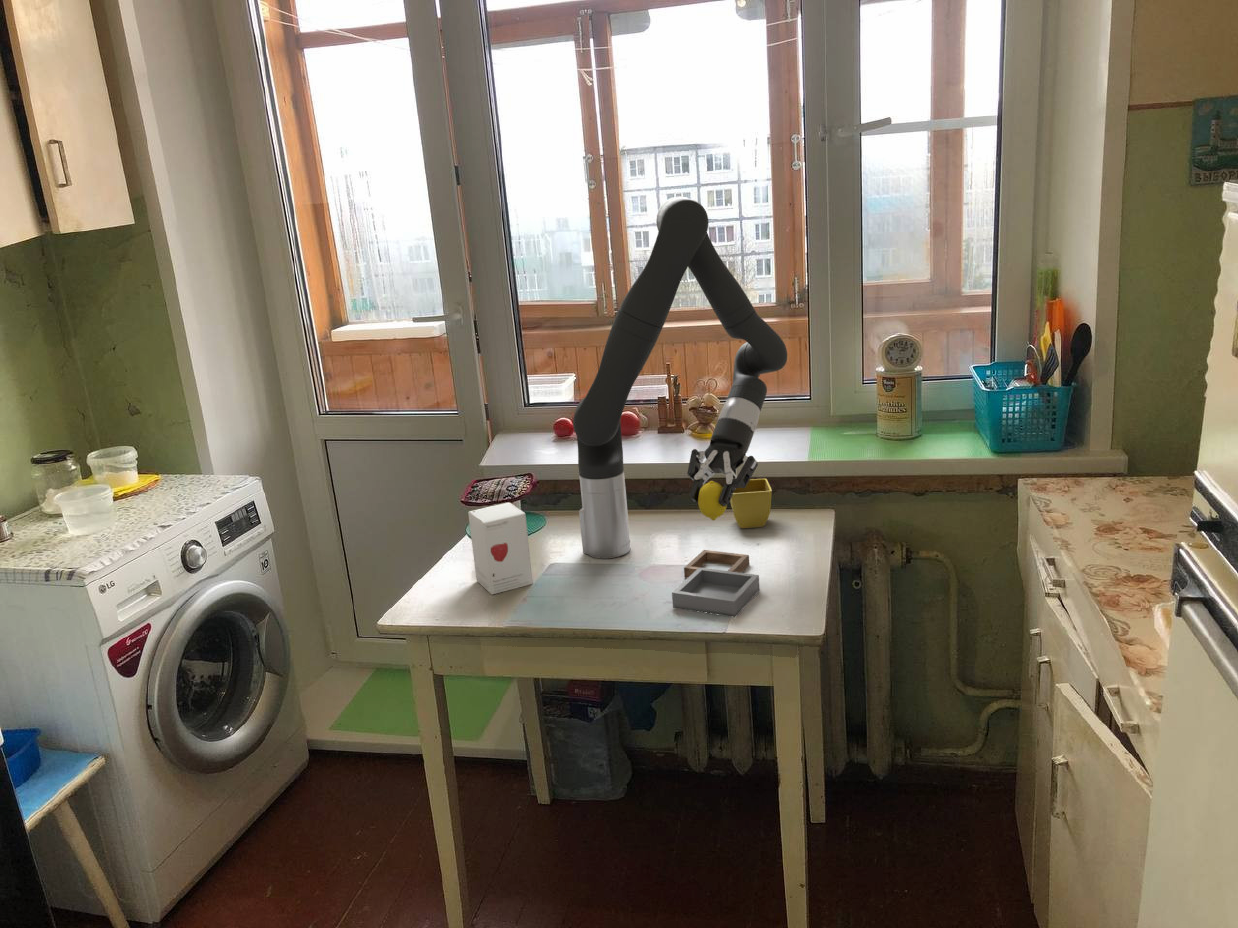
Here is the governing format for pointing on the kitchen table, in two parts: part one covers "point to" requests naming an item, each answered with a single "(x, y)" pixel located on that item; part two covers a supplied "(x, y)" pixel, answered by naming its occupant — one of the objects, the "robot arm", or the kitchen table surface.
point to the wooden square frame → (717, 561)
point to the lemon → (711, 500)
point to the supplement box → (500, 547)
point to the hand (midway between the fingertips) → (708, 502)
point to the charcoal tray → (716, 592)
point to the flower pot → (752, 503)
